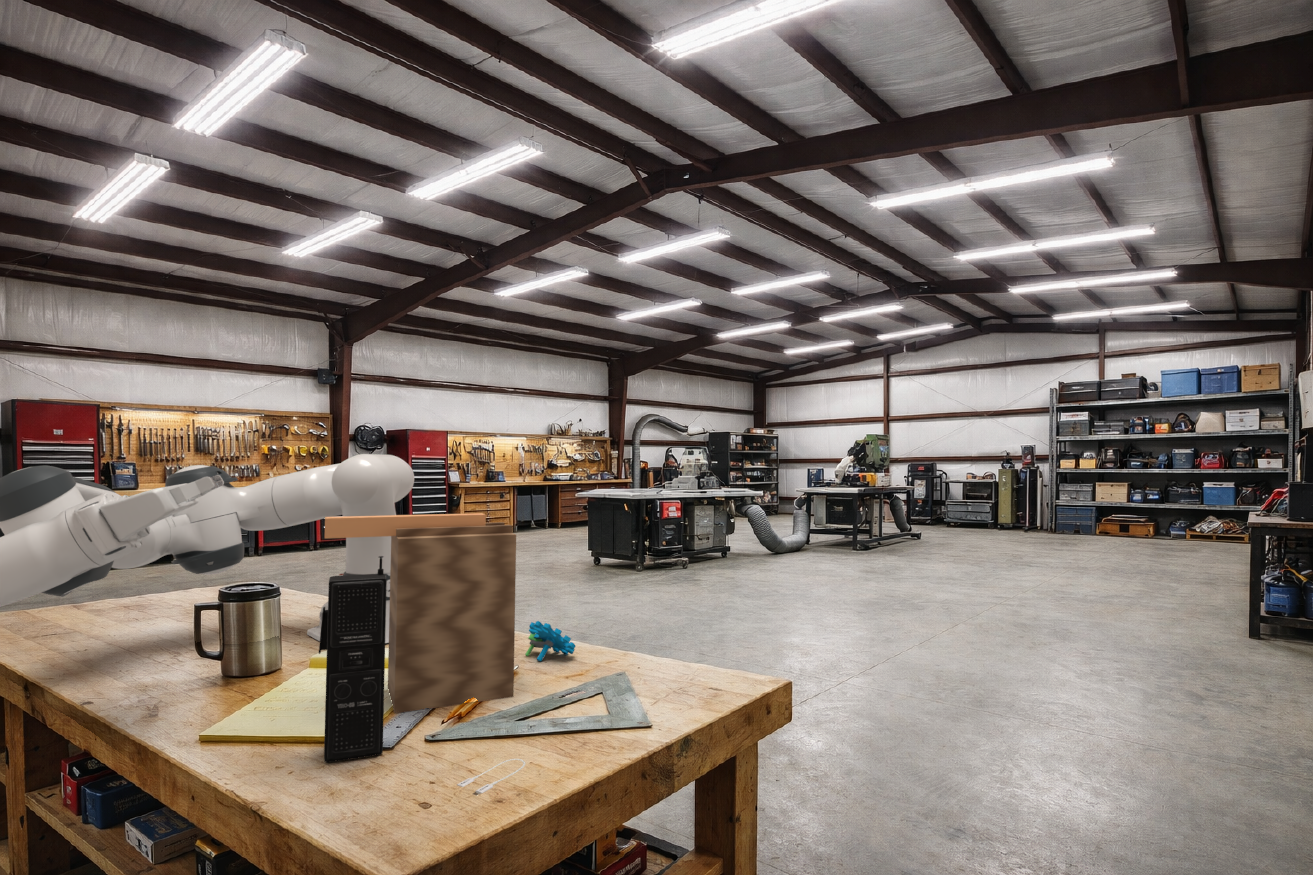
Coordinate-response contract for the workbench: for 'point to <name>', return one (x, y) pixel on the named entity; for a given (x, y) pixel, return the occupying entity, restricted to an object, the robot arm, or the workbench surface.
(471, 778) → the electronic cable
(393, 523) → the batten
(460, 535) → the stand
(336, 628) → the portable radio
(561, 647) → the blue toy creature
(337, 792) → the workbench surface
